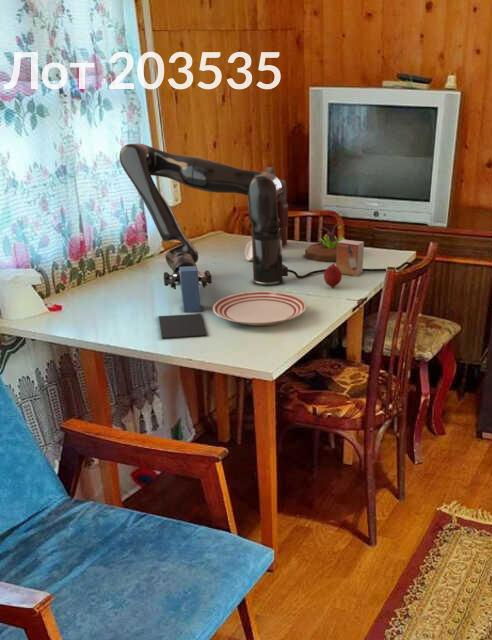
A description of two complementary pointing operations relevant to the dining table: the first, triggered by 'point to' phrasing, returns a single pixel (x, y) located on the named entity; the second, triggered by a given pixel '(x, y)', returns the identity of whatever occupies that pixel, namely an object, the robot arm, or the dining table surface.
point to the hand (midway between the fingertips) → (189, 285)
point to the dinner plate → (260, 308)
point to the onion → (332, 275)
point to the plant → (325, 247)
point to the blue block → (190, 288)
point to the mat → (181, 326)
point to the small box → (350, 257)
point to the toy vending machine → (281, 209)
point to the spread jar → (250, 254)
